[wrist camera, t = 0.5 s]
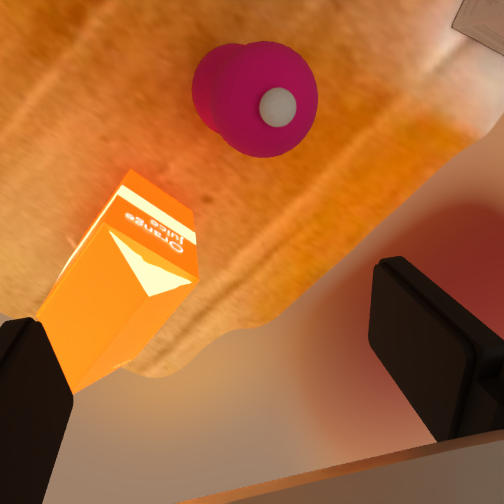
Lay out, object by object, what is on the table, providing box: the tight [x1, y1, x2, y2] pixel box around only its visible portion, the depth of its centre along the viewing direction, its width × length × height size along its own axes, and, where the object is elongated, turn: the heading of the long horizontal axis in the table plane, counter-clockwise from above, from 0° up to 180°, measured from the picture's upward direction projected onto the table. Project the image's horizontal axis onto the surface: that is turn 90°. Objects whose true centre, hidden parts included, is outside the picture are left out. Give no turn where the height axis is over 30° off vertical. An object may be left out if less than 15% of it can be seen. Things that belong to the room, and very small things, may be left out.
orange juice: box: [36, 169, 200, 394], centre depth 30 cm, size 8×9×20 cm
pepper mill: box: [192, 41, 318, 158], centre depth 26 cm, size 7×7×20 cm
